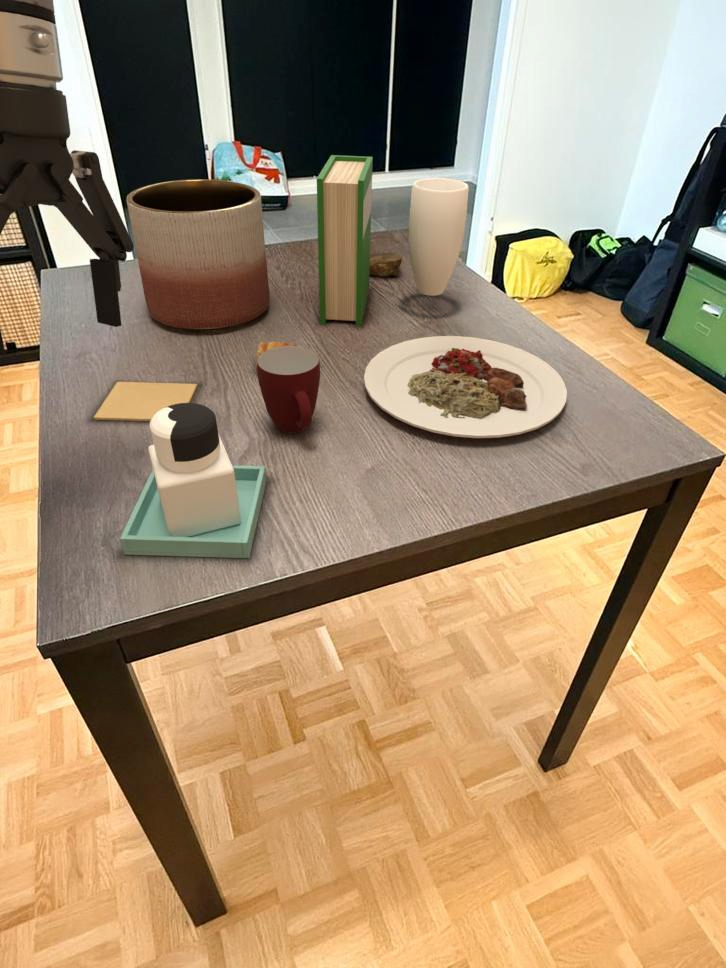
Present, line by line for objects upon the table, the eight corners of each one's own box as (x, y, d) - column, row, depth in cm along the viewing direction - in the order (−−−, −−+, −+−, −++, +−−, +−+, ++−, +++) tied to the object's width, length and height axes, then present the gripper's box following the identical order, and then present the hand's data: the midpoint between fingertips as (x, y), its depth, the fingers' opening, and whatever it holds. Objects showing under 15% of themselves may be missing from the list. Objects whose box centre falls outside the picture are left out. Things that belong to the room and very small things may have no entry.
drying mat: (94, 419, 86) (93, 417, 85) (117, 383, 93) (117, 381, 93) (181, 422, 86) (180, 419, 85) (197, 386, 93) (197, 383, 93)
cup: (395, 312, 116) (403, 188, 103) (410, 292, 124) (418, 174, 111) (450, 320, 114) (464, 194, 101) (461, 299, 122) (476, 180, 108)
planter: (277, 289, 124) (270, 180, 111) (261, 338, 107) (250, 215, 94) (167, 286, 124) (147, 176, 111) (132, 334, 107) (105, 211, 94)
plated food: (416, 466, 79) (418, 445, 77) (335, 362, 100) (335, 343, 98) (607, 422, 88) (614, 402, 86) (495, 335, 110) (498, 317, 107)
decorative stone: (349, 275, 131) (349, 258, 129) (357, 260, 138) (357, 244, 136) (398, 279, 130) (399, 262, 128) (404, 264, 137) (405, 247, 135)
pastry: (317, 357, 101) (317, 336, 99) (315, 378, 96) (314, 356, 94) (260, 356, 101) (258, 335, 99) (254, 377, 96) (252, 354, 94)
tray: (124, 554, 66) (119, 538, 64) (159, 477, 76) (155, 462, 74) (249, 558, 66) (247, 542, 64) (266, 481, 76) (265, 465, 74)
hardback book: (360, 326, 111) (363, 180, 96) (320, 323, 112) (316, 178, 97) (368, 289, 125) (372, 156, 110) (332, 287, 125) (331, 155, 110)
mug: (341, 440, 83) (341, 373, 77) (287, 458, 80) (282, 390, 73) (304, 404, 90) (301, 340, 84) (252, 419, 86) (246, 354, 80)
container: (226, 484, 74) (212, 389, 66) (242, 525, 69) (228, 426, 61) (160, 499, 72) (137, 402, 64) (170, 542, 66) (147, 442, 58)
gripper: (-121, 59, 40) (-44, 376, 50) (157, 100, 60) (173, 320, 70) (-186, 57, 43) (-101, 358, 53) (101, 97, 63) (123, 309, 73)
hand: (55, 337), depth 61 cm, fingers open, 13 cm apart
